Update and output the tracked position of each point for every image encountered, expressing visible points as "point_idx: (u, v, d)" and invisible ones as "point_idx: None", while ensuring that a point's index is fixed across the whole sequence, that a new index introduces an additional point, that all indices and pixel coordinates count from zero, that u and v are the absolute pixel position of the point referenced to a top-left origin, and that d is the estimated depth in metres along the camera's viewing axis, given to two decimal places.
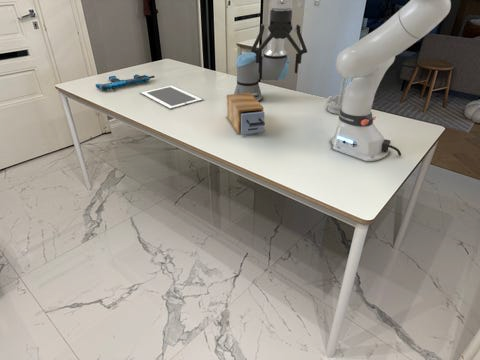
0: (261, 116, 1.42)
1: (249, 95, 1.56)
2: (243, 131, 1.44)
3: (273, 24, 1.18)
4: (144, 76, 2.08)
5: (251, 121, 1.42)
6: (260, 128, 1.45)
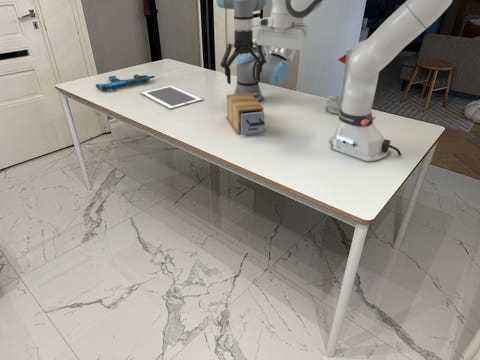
0: (261, 116, 1.42)
1: (249, 95, 1.56)
2: (243, 131, 1.44)
3: None
4: (144, 76, 2.08)
5: (251, 121, 1.42)
6: (260, 128, 1.45)
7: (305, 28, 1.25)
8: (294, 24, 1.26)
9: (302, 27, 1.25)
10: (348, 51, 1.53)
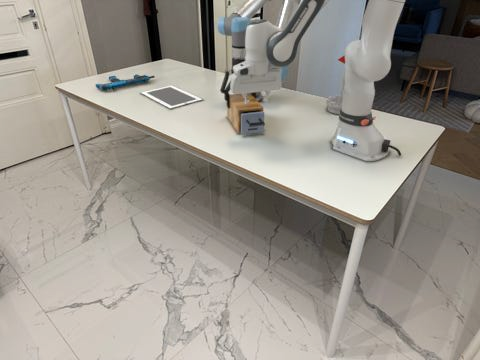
0: (261, 116, 1.42)
1: (249, 95, 1.56)
2: (243, 131, 1.44)
3: None
4: (144, 76, 2.08)
5: (251, 121, 1.42)
6: (260, 128, 1.45)
7: (280, 69, 1.30)
8: (270, 67, 1.29)
9: (277, 69, 1.30)
10: None
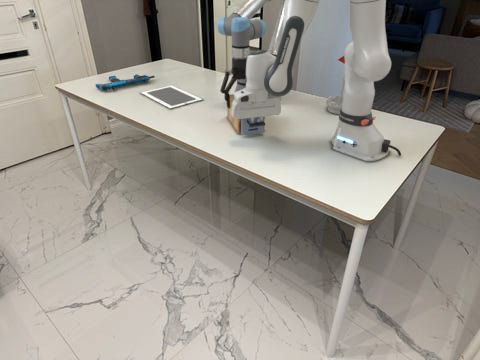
0: None
1: None
2: (243, 131, 1.43)
3: None
4: (144, 76, 2.08)
5: (251, 121, 1.42)
6: (260, 128, 1.45)
7: (279, 95, 1.35)
8: (269, 94, 1.34)
9: None
10: None
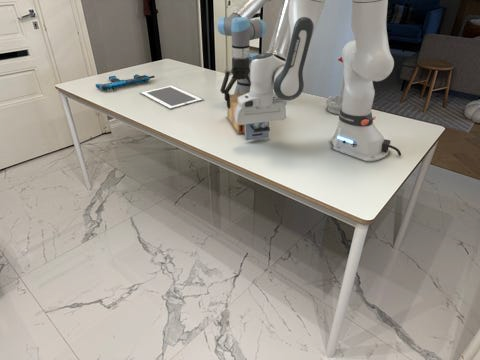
0: None
1: None
2: (247, 137, 1.39)
3: None
4: (144, 76, 2.08)
5: None
6: (265, 133, 1.40)
7: (285, 100, 1.31)
8: (274, 99, 1.29)
9: (282, 100, 1.30)
10: None
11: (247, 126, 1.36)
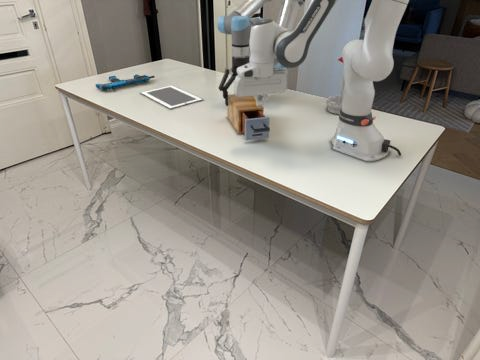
0: (266, 121, 1.38)
1: None
2: (247, 137, 1.39)
3: None
4: (144, 76, 2.08)
5: (255, 127, 1.38)
6: (265, 134, 1.40)
7: (286, 71, 1.25)
8: (275, 69, 1.24)
9: (283, 71, 1.25)
10: None
11: (247, 126, 1.36)
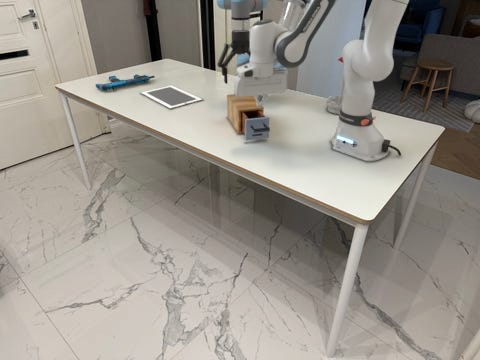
0: (266, 121, 1.38)
1: None
2: (247, 137, 1.39)
3: None
4: (144, 76, 2.08)
5: (255, 127, 1.38)
6: (265, 134, 1.41)
7: (286, 71, 1.25)
8: (275, 69, 1.24)
9: (283, 71, 1.25)
10: None
11: (247, 126, 1.36)
